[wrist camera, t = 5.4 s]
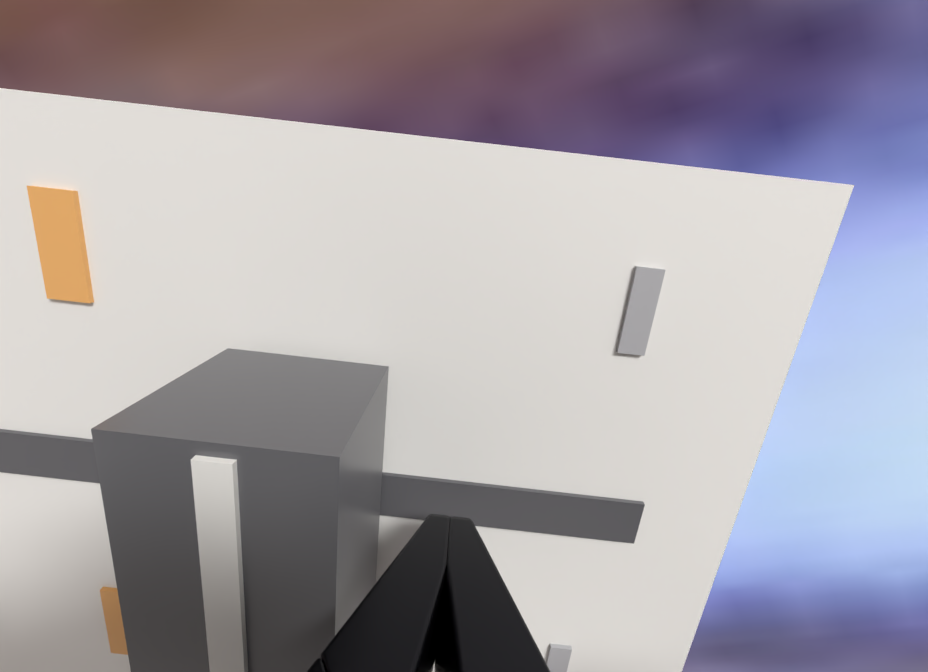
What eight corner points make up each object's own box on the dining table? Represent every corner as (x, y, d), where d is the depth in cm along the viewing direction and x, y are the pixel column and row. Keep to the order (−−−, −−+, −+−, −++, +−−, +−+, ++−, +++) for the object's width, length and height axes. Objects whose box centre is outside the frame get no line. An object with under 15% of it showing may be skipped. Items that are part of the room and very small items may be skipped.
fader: (389, 366, 8) (336, 461, 5) (373, 612, 10) (329, 787, 7) (228, 347, 8) (83, 432, 5) (242, 597, 10) (140, 767, 7)
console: (760, 189, 10) (859, 185, 7) (622, 655, 14) (654, 755, 11) (-147, 85, 10) (-366, 45, 7) (-10, 584, 14) (-118, 669, 11)
